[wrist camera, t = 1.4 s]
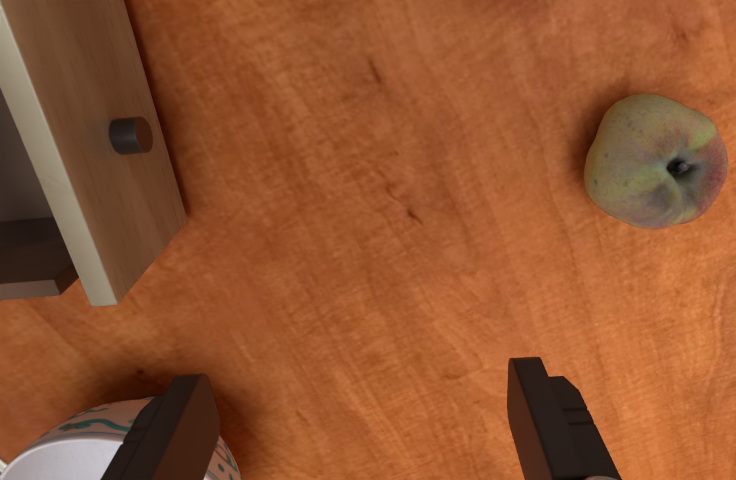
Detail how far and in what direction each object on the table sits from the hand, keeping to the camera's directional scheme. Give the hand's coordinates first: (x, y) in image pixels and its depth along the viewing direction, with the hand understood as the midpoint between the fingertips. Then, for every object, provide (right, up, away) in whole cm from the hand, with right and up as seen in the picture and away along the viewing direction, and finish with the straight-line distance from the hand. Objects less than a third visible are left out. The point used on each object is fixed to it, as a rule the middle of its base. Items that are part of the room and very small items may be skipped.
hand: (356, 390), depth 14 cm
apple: (+14, +9, +14) cm, 22 cm away
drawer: (-17, +10, +14) cm, 24 cm away
